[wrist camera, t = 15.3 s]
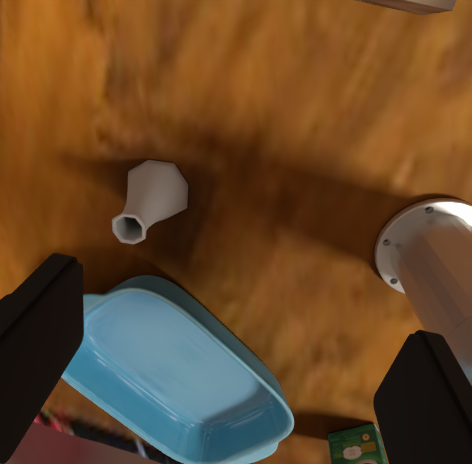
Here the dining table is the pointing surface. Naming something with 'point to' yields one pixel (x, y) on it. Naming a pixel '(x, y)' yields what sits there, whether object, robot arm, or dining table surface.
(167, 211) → the flask
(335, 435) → the coffee box
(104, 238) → the dining table surface
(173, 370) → the casserole dish
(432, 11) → the walnut tray
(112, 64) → the dining table surface
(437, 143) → the dining table surface
